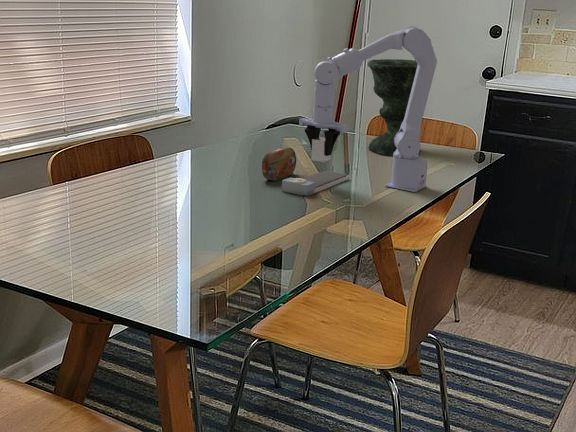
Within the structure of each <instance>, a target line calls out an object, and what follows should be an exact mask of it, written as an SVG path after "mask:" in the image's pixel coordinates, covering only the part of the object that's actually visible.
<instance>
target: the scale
mask: <svg viewBox="0 0 576 432" xmlns="http://www.w3.org/2000/svg"><path fill="white" fill-rule="evenodd" d="M349 179H350V175H348V174H345V173H341V172H336V171H330V170H323V171H320V172H318V173H315V174H311V175H309V176H306V177H304V178H301V177H296V178H295V177H286V178H284V179H282V180H281V181H282V182H281V191H282V192H285V193H290V194H293V195H294V194H295V195H299V196H303V195H306V196H305V197H308V196H311V195H314V194H315V193H318V192H320V191H323V190H326V189H328V188H331V187H333V186H336V185H338V184H340V183H342V182H345V181H349ZM307 195H308V196H307Z"/></svg>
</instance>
